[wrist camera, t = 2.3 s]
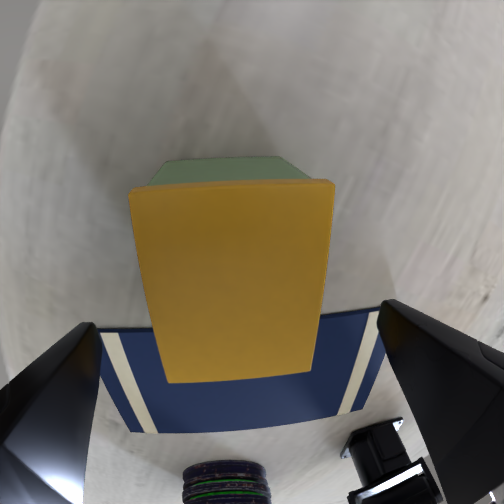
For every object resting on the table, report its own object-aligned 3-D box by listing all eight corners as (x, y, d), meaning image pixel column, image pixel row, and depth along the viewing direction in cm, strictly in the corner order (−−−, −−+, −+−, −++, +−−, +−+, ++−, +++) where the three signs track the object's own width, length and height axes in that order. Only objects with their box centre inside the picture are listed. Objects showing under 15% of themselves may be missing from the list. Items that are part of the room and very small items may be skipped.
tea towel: (361, 406, 25) (362, 409, 24) (130, 428, 22) (130, 432, 22) (398, 303, 19) (401, 307, 19) (82, 328, 17) (80, 332, 16)
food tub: (280, 289, 17) (311, 371, 12) (176, 296, 17) (167, 384, 11) (285, 152, 14) (336, 184, 8) (161, 157, 13) (126, 193, 8)
